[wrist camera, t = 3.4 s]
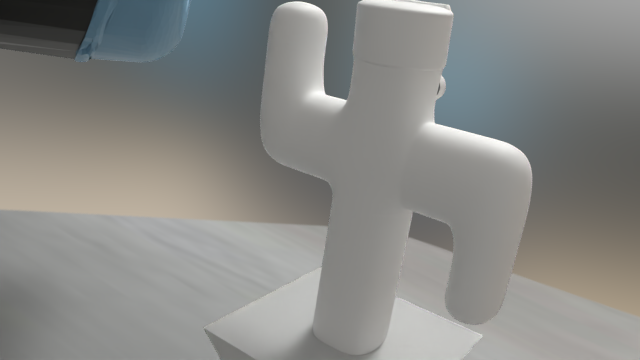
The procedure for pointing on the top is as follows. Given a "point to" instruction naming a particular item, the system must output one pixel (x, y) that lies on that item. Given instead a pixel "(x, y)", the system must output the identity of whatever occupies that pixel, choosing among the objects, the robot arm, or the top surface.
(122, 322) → the top surface
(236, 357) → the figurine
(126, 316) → the top surface
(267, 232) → the top surface
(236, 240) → the top surface
